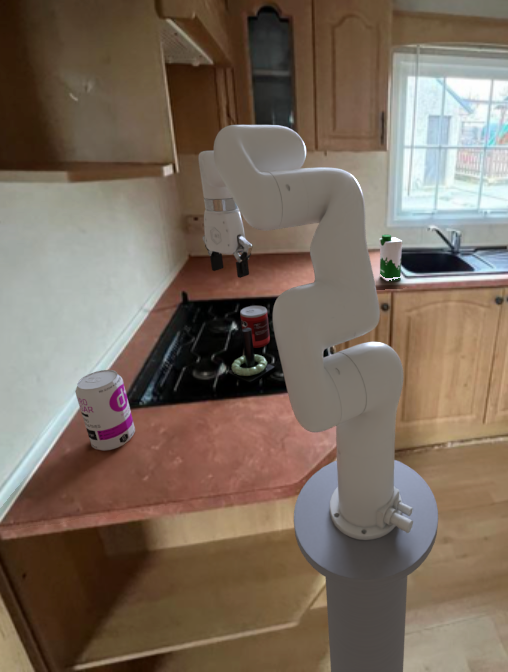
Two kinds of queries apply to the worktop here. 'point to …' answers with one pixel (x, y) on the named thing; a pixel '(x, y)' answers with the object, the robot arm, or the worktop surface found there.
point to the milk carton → (390, 257)
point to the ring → (249, 371)
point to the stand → (250, 361)
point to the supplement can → (105, 409)
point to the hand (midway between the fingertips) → (230, 272)
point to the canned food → (256, 324)
